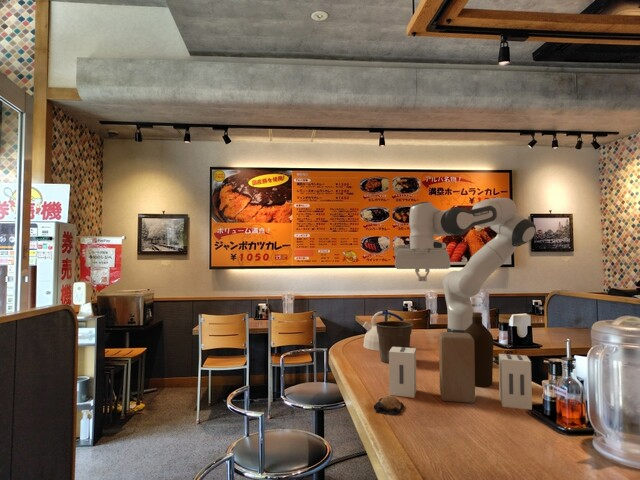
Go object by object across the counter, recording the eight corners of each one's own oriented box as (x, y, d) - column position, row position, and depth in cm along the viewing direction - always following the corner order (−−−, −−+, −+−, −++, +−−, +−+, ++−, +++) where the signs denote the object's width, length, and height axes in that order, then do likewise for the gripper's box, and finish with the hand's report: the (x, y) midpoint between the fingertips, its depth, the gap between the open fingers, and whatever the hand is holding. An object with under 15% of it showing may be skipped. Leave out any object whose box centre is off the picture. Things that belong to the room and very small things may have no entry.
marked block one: (392, 387, 142) (392, 346, 142) (416, 390, 139) (416, 347, 140) (389, 395, 134) (388, 351, 134) (414, 397, 131) (413, 352, 132)
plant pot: (388, 367, 168) (388, 327, 169) (368, 358, 183) (368, 322, 184) (421, 363, 175) (420, 325, 176) (399, 355, 190) (399, 319, 190)
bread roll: (378, 402, 128) (378, 390, 129) (405, 405, 126) (405, 393, 126) (371, 414, 118) (371, 401, 119) (400, 418, 116) (400, 405, 116)
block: (475, 404, 125) (474, 338, 126) (441, 401, 128) (440, 336, 129) (471, 393, 135) (470, 332, 136) (439, 391, 137) (438, 331, 138)
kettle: (363, 342, 219) (363, 308, 220) (402, 343, 216) (402, 309, 217) (361, 350, 199) (361, 313, 200) (405, 352, 196) (405, 314, 197)
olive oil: (479, 389, 140) (477, 315, 141) (456, 381, 149) (455, 311, 151) (501, 385, 145) (499, 313, 146) (477, 377, 154) (476, 310, 155)
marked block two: (499, 398, 131) (498, 353, 132) (527, 400, 129) (526, 354, 129) (502, 406, 123) (501, 359, 124) (532, 409, 121) (531, 361, 122)
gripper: (392, 244, 155) (393, 281, 155) (449, 243, 149) (450, 281, 148) (395, 245, 161) (395, 280, 161) (449, 244, 155) (450, 280, 154)
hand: (422, 281), depth 154 cm, fingers closed
